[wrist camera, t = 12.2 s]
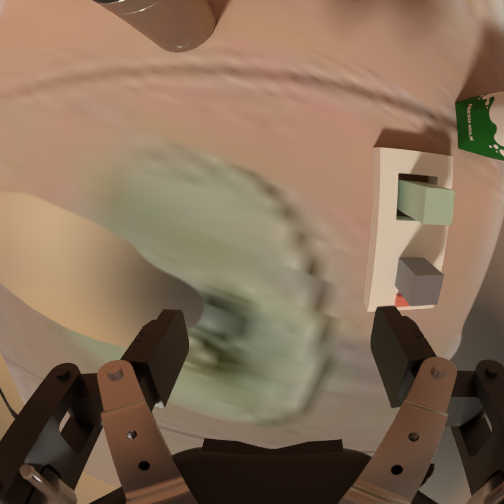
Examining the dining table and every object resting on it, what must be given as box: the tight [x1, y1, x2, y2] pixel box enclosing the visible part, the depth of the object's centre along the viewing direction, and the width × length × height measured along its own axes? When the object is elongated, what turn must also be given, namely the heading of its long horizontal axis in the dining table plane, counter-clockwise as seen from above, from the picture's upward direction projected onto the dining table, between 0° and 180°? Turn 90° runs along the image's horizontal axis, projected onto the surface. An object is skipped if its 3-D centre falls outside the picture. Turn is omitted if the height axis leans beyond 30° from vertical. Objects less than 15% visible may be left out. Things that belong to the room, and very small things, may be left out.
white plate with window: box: [363, 147, 453, 312], centre depth 32 cm, size 22×11×9 cm, turn 2°
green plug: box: [397, 179, 455, 225], centre depth 31 cm, size 4×4×9 cm
